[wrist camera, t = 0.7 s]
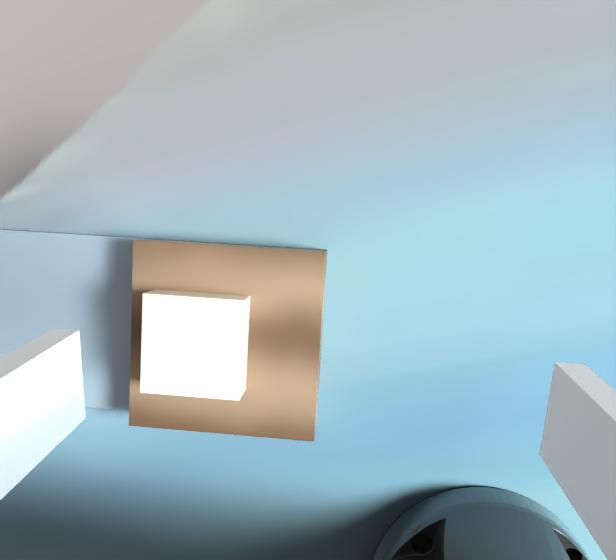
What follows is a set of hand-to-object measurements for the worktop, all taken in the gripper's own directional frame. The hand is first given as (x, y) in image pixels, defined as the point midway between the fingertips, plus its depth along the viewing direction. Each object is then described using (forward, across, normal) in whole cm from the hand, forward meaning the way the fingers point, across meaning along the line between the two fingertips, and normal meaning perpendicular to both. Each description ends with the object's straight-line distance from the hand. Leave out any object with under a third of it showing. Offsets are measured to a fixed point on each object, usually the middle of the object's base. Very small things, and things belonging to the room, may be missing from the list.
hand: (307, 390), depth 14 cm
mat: (+19, +18, +5) cm, 27 cm away
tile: (+16, +8, +5) cm, 19 cm away
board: (+19, +6, +5) cm, 21 cm away
